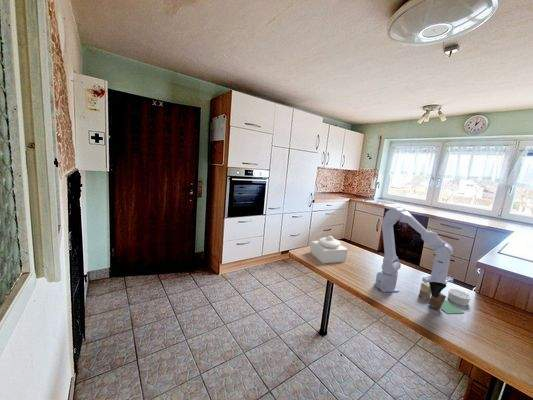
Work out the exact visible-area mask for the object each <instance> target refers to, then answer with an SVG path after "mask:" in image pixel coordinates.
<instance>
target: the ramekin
mask: <svg viewBox="0 0 533 400" xmlns="http://www.w3.org/2000/svg"><path fill="white" fill-rule="evenodd" d="M447 295H448V296H447V298H448V300H449V301H451V302H452V303H453V304H456V305H459V306H464V307H465V306H469V304H470V300H471V299H472V296H471V295H470V294H469V293H466V292H465V291H462V290H460V289H456V288H449V289H448V293H447Z"/></svg>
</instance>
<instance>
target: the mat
mask: <svg viewBox="0 0 533 400" xmlns="http://www.w3.org/2000/svg"><path fill="white" fill-rule="evenodd" d="M439 310H442V311H443V312H444V313H445V314H447V315H452V314H465V312H464V311H463V310H461V309H459V308H458V307H457V306H456V305H454V304H452V303H451V302H449V301H448V300H446V299H445V300H444V302H443V304H442V306H441V308H440V309H439Z"/></svg>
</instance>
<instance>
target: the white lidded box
mask: <svg viewBox="0 0 533 400" xmlns="http://www.w3.org/2000/svg"><path fill="white" fill-rule="evenodd" d="M341 244H342V243H341V241H340V240H338V239H335V238H334V237H333V236H332V235H327V236H326V237H325V236H324V237H321V238H319V239H318V240H313V241H311V242H310V250H309V251H310V252H309V253H310V254H311V255H312V256H313V257H315V258H316V259H317V260H318V261H319V262H320V263H322V264H330V263H344V262H346V261H347V255H348V251H349V248H347V247H345V246H344V245H341Z"/></svg>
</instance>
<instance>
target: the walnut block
mask: <svg viewBox="0 0 533 400" xmlns="http://www.w3.org/2000/svg"><path fill="white" fill-rule="evenodd" d="M446 298H447V296H446V295H445V294H443V293H442V292H440V294H439V295H438V297H434V296H432V295H431V296H430V298H429V300H428V302H427V304H428V305H430V306H431V307H432V308H434V309H437V310H441V309H440V308H441V306H442V304H443V302H444V300H446Z"/></svg>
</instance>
